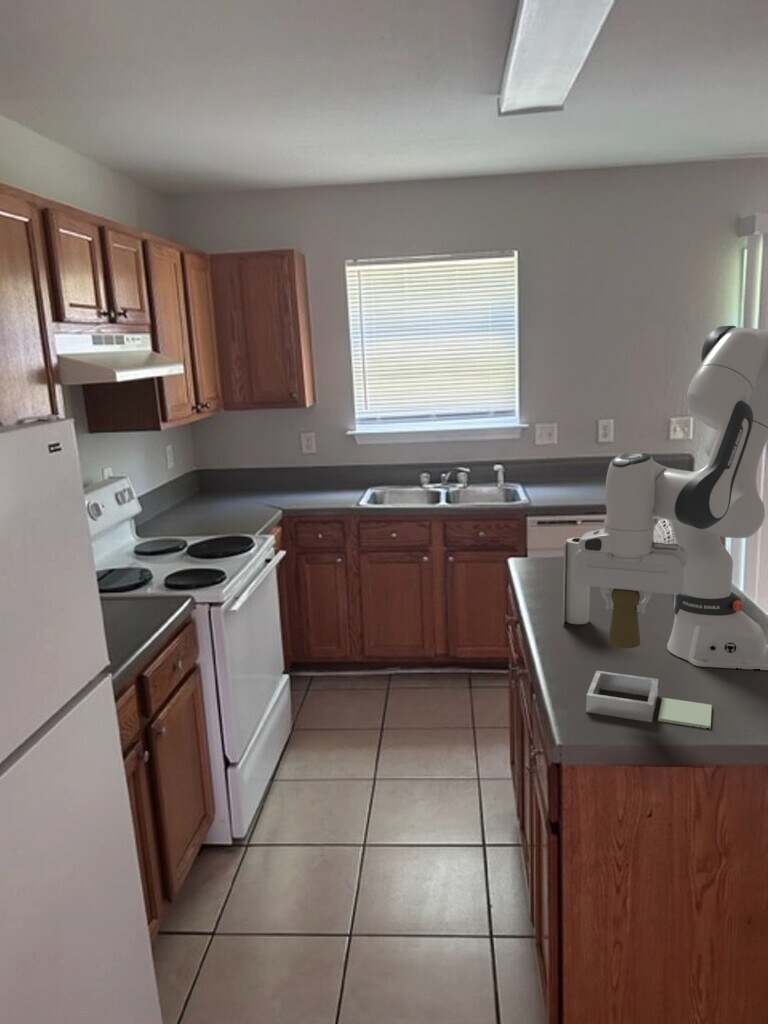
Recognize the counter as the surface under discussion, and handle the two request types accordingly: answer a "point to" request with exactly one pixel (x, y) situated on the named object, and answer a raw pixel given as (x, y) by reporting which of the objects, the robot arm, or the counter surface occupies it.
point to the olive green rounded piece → (624, 619)
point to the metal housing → (622, 705)
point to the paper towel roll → (574, 588)
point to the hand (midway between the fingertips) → (625, 610)
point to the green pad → (685, 713)
